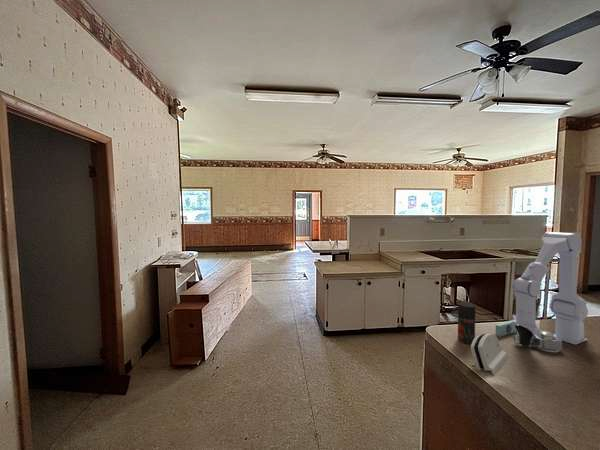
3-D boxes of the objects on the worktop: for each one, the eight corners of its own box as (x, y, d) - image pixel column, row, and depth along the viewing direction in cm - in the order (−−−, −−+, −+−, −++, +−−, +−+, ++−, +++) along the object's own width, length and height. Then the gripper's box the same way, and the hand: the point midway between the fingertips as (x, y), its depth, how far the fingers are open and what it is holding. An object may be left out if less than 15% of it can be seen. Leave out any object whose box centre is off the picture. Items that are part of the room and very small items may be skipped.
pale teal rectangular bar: (512, 329, 119) (512, 319, 119) (517, 331, 117) (517, 321, 117) (495, 335, 114) (495, 324, 114) (500, 336, 113) (500, 326, 113)
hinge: (494, 376, 86) (482, 343, 88) (478, 374, 90) (467, 343, 92) (509, 357, 97) (498, 328, 99) (494, 357, 100) (483, 329, 102)
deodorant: (476, 345, 106) (477, 307, 105) (459, 343, 108) (459, 306, 107) (472, 338, 111) (472, 302, 111) (456, 336, 113) (456, 301, 113)
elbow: (549, 342, 106) (549, 333, 106) (563, 351, 99) (563, 341, 99) (510, 340, 109) (510, 330, 109) (521, 348, 102) (521, 338, 102)
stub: (538, 340, 109) (538, 327, 109) (564, 349, 101) (564, 335, 101) (526, 344, 106) (527, 331, 105) (552, 354, 98) (552, 339, 98)
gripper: (503, 303, 110) (503, 336, 111) (524, 316, 96) (523, 354, 97) (524, 304, 109) (523, 338, 109) (547, 318, 95) (547, 356, 95)
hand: (525, 345), depth 103 cm, fingers closed, pressing on elbow
